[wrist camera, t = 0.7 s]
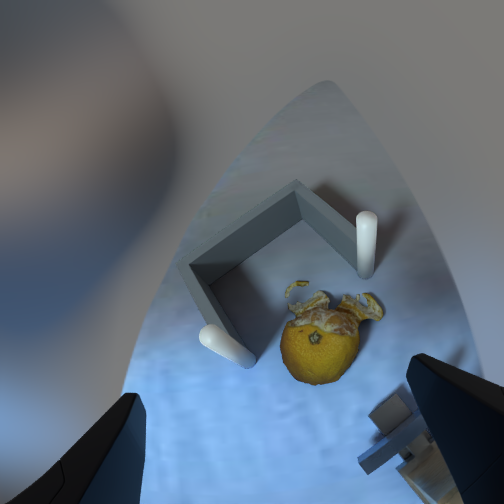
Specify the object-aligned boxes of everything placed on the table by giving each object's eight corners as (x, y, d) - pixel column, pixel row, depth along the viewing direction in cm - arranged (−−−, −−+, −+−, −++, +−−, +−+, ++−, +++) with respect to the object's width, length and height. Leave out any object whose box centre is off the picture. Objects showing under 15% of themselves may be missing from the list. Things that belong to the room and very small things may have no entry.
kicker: (489, 455, 10) (551, 461, 4) (411, 523, 10) (440, 570, 3) (437, 389, 15) (486, 368, 9) (357, 457, 15) (362, 482, 8)
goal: (376, 272, 23) (381, 219, 17) (244, 372, 22) (205, 351, 16) (305, 206, 29) (290, 152, 23) (194, 285, 28) (154, 245, 22)
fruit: (384, 295, 22) (389, 274, 19) (363, 396, 18) (366, 392, 15) (290, 280, 25) (280, 258, 22) (259, 372, 22) (244, 363, 19)
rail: (462, 480, 11) (467, 482, 10) (437, 502, 11) (440, 505, 10) (393, 394, 17) (396, 393, 16) (367, 415, 17) (368, 415, 16)
